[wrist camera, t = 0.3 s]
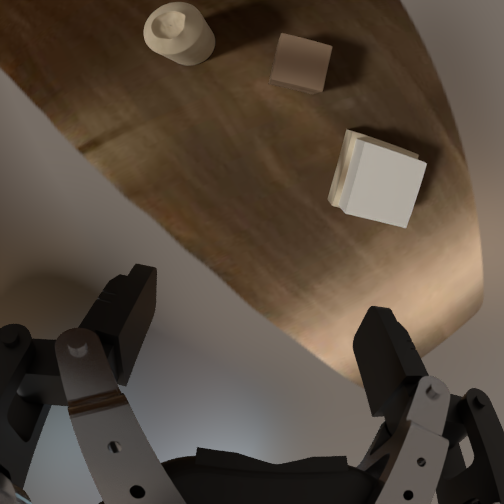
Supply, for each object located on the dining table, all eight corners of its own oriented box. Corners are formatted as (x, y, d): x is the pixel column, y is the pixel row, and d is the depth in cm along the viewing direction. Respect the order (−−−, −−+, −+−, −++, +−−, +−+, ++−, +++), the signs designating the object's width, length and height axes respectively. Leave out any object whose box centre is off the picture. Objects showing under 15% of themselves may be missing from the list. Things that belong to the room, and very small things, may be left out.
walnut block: (277, 45, 28) (281, 33, 23) (320, 55, 28) (332, 46, 23) (268, 84, 30) (270, 79, 25) (311, 94, 31) (322, 91, 25)
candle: (208, 17, 26) (190, -12, 17) (221, 56, 29) (208, 37, 20) (163, 34, 27) (131, 13, 18) (176, 72, 30) (147, 62, 21)
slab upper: (356, 138, 30) (364, 141, 28) (415, 158, 31) (427, 163, 28) (338, 204, 34) (344, 213, 31) (395, 218, 35) (405, 228, 32)
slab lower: (345, 129, 33) (352, 131, 30) (408, 150, 33) (418, 154, 31) (326, 198, 37) (332, 205, 34) (388, 214, 38) (396, 222, 35)
